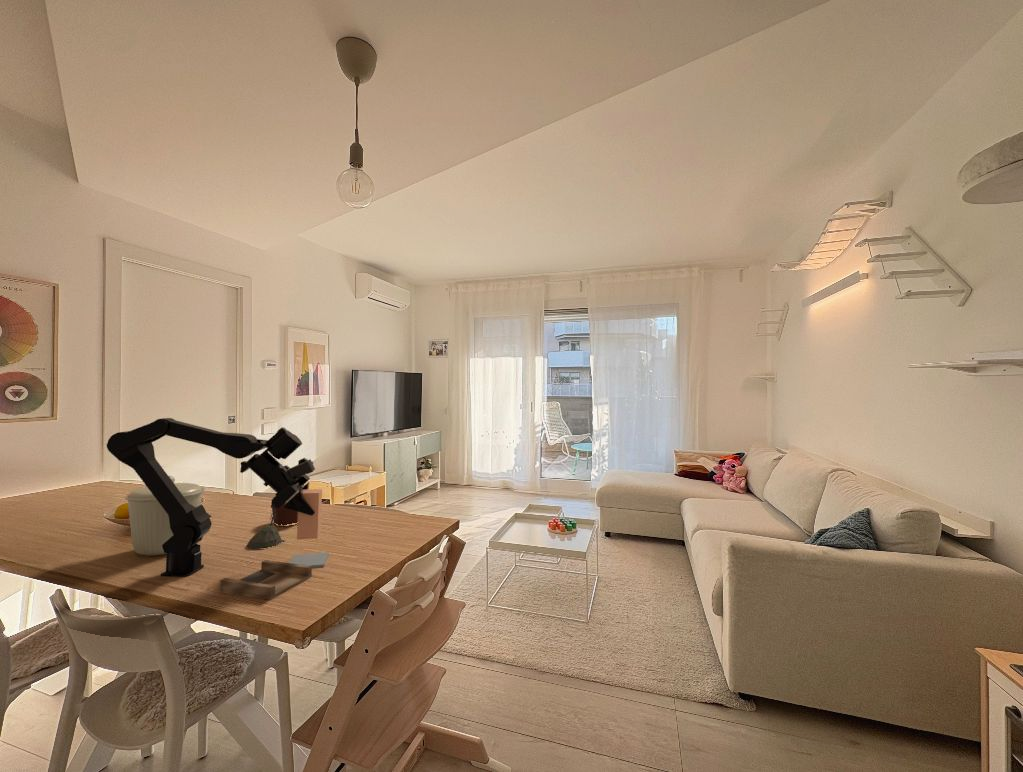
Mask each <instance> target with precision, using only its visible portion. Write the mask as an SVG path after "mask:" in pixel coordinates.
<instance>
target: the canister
mask: <svg viewBox="0 0 1023 772" xmlns="http://www.w3.org/2000/svg"><path fill="white" fill-rule="evenodd" d="M168 476H169V478H170V479H171V480H172V482H173V483H174V484H175V486H176V487H177V488H178V490H179V491H180V492H181V494H182V495H183V496H184V498H185V499H186V500H187V502H188V503H189V504H190V505H192V506H194V507H198V506H199V505H202V498H203V493H205V491H206V488H205V487H203V486H201V485H199V484H197V483H189V482H176V478H175V477H174V476H172V475H168ZM124 499H125V500H126V501H127V506H128V507H127V508H128V519H129V527H130V534H131V542H132V547H133V549H134V550H133V551H135V552H136V553H137V554H138V555H141V556H151V557H152V556H159V555H160V556H161V555H166V554H167V553H164V550H163V548H162V545H163V544H164V543H165V542H166V541H167V540H168V539H170V538H171V537H172V536H173V533H172V531H171V529H170V523H169V516H168V514H167V513H166V512H165V510H164V509H163V508H162V506H161V505H160V504H159V502H158V501H157V500H156V498H155V497H154V496H153V494H152V493H151V492H150V490H149V489H148V488H147V486H143V487H139V488H136V489H134V490H132V491H131V492H130V493H127V494H126V495H125V496H124Z"/></svg>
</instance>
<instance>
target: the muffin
mask: <svg viewBox="0 0 1023 772" xmlns="http://www.w3.org/2000/svg"><path fill="white" fill-rule="evenodd" d="M285 504H286V503H284V504H283V505H282V506H281V507H280V508H278V509H276V510H275V508H274V507H273V506H272V505H270V508H271V511H272V513H273V512H274V510H275V514H276V517H275V515H274V518H275V520H274V519H273V524H274V523H276V524H278V525H281V524H282V525H287V524H292V523H297V522H298V512H297V511H294V510H290V509H286V508H282V507H283V506H284V505H285Z"/></svg>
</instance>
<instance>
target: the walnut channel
mask: <svg viewBox="0 0 1023 772" xmlns="http://www.w3.org/2000/svg"><path fill="white" fill-rule="evenodd" d="M260 567H261V569H260V570H257V571H254V572H253V573H250V574H249V575H247V576H244V577H242V578H240V579H233V578H227V577H224V578H222V579H220V580H219V590H218V591H219V593H224V594H231V595H236V596H243V597H250V598H255V599H262V600H268V601H272V600H274V599H275V598H277V597H278V596H280V595H282V594H284V593H285V592H287V591H289V590H291V589H292V588H294V587H296V586H297V585H300V584H301V583H303V582H305V581H306V580H308V579H310V578H312V577H313V574H312V573H313V570H312V569H313V568H312V566H307V565H300V564H292V563H289V562H281V561H277V560H276V561H275V560H269V559H264V560H262V561H261V566H260Z"/></svg>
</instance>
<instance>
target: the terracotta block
mask: <svg viewBox="0 0 1023 772" xmlns="http://www.w3.org/2000/svg"><path fill="white" fill-rule="evenodd" d="M322 497H323V488H312V489H307V490H303V498H304V499H305V500H306V501H307V503H308V504H309V505H310V506H311V508H312V509H313V510H314V512H315V513H314V514H313V515H312V516H311V515H308V514H304V513H301V512H298V523H297V525H296V527H297V528H296V529H297V530H296V540H311V539H318V538H319V537H320V534H321V531H322V529H321V528H322V507H323V506H322V504H323V502H322V501H323V499H322Z"/></svg>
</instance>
